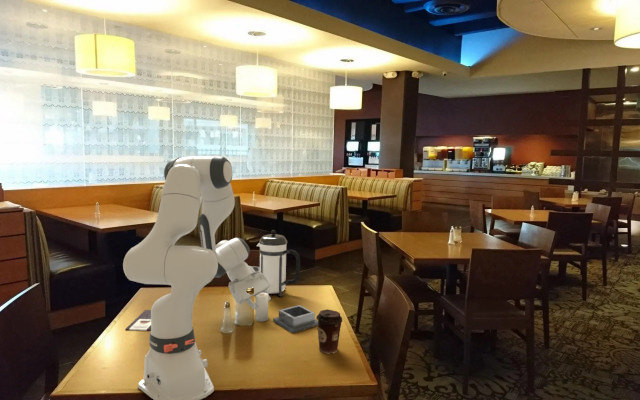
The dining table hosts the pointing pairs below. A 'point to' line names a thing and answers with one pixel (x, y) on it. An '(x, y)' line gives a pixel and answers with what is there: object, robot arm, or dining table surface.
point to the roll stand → (296, 318)
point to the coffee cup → (328, 330)
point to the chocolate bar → (141, 322)
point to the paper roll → (261, 307)
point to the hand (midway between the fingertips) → (262, 304)
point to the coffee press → (276, 262)
